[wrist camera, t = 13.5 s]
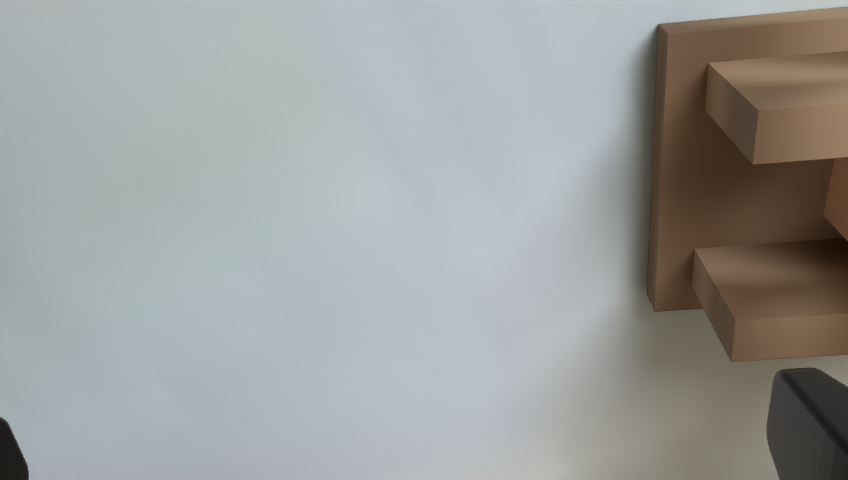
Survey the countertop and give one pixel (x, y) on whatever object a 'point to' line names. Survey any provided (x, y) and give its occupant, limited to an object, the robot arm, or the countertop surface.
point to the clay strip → (838, 197)
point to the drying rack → (752, 180)
